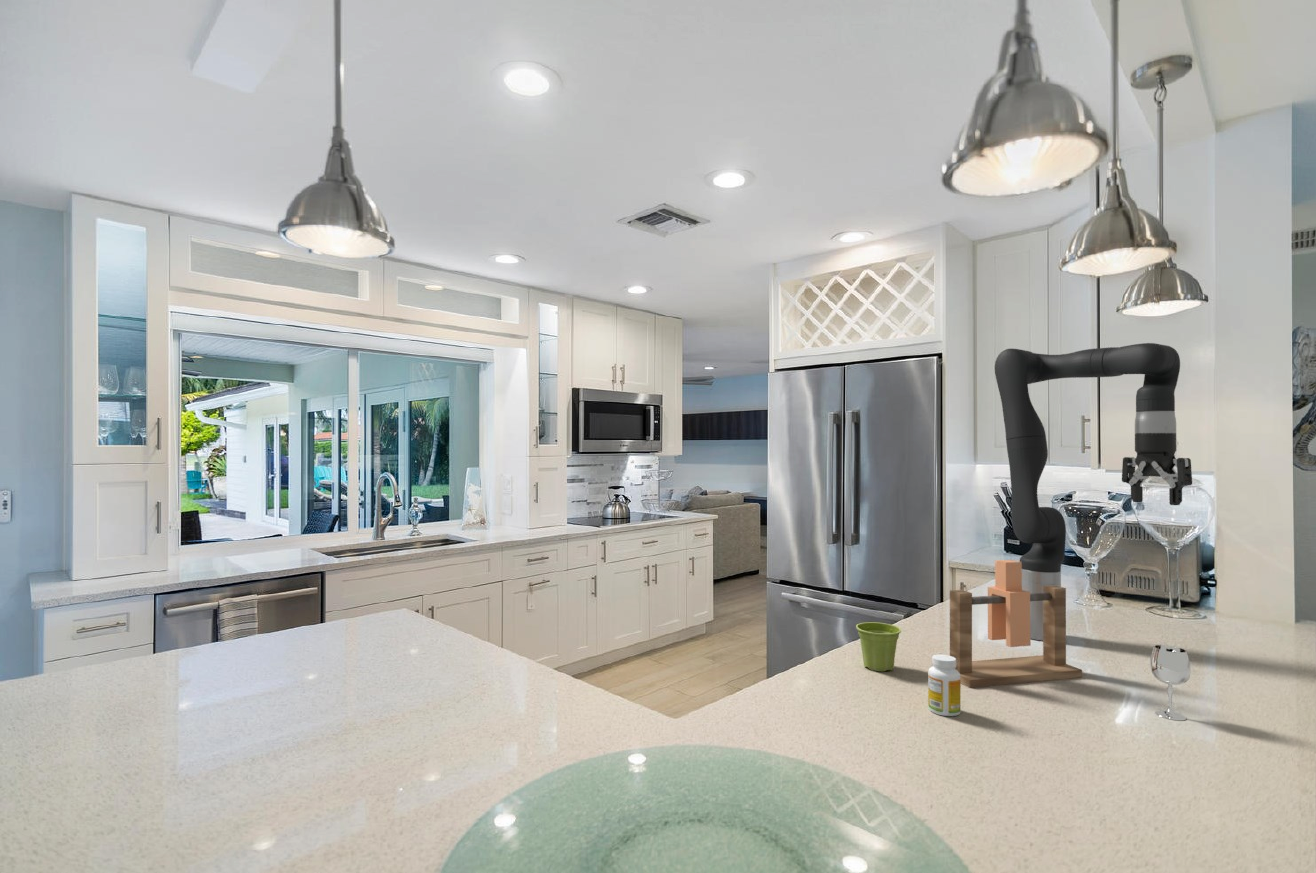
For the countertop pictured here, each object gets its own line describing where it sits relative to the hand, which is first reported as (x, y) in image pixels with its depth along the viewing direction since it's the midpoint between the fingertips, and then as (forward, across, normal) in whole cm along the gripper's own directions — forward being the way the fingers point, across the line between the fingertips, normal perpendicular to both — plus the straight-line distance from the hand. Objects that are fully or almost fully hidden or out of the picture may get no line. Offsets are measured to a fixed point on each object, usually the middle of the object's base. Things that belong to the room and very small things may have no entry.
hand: (1155, 503), depth 147 cm
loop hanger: (+29, +2, +38) cm, 48 cm away
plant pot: (+36, +12, +63) cm, 74 cm away
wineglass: (+36, -23, +26) cm, 50 cm away
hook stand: (+36, +2, +38) cm, 52 cm away
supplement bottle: (+36, -12, +65) cm, 75 cm away
